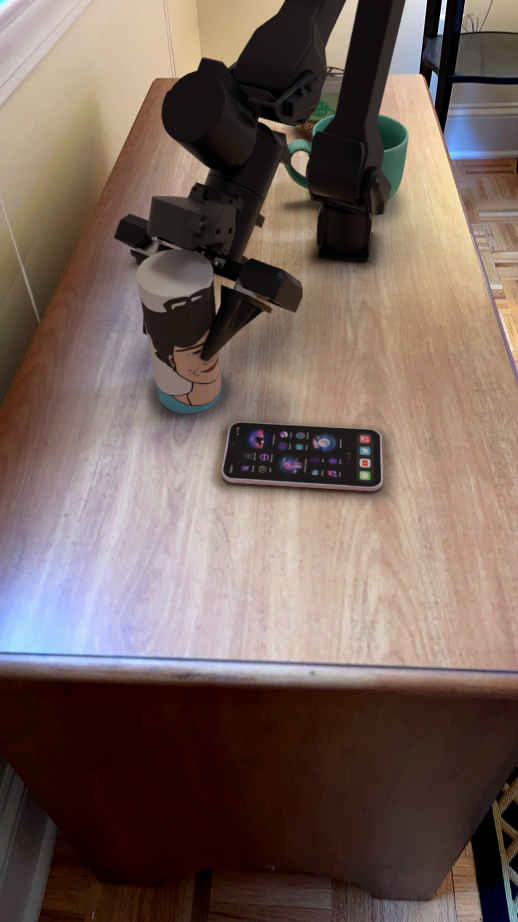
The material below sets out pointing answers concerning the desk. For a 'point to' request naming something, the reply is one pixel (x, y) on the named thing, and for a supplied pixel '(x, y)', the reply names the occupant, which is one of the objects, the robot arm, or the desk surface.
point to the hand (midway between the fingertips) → (174, 347)
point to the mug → (392, 141)
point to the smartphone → (303, 456)
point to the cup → (180, 328)
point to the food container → (324, 101)
